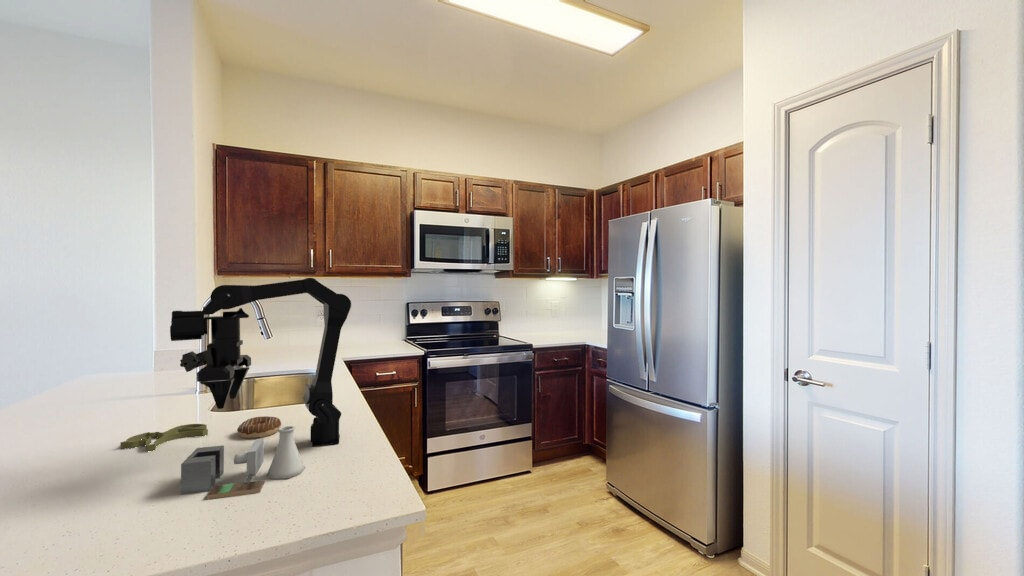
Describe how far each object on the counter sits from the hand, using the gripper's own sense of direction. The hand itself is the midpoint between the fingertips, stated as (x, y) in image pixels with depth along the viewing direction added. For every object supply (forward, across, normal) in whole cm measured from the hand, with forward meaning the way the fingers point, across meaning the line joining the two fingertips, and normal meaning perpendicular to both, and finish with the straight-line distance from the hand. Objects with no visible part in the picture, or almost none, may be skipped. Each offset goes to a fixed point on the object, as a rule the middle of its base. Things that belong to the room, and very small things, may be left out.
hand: (227, 403), depth 102 cm
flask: (+14, +12, +14) cm, 24 cm away
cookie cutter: (+14, -20, -19) cm, 31 cm away
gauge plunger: (+12, +14, +7) cm, 20 cm away
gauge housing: (+13, +14, +4) cm, 20 cm away
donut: (+14, -18, +3) cm, 23 cm away
